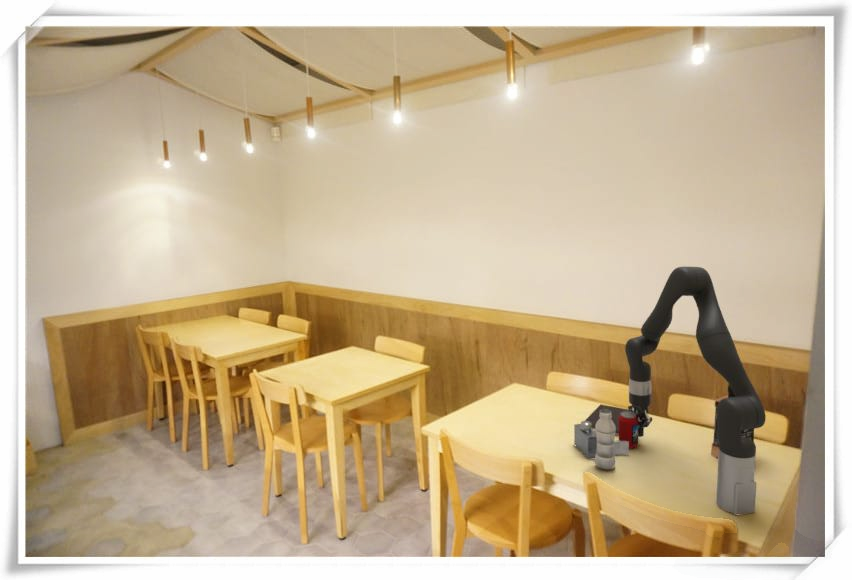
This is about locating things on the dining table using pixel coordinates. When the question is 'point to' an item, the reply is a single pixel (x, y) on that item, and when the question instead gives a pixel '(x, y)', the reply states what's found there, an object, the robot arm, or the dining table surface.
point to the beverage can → (628, 428)
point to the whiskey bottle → (715, 444)
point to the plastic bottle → (605, 441)
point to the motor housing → (594, 441)
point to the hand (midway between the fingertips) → (639, 435)
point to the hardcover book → (614, 413)
